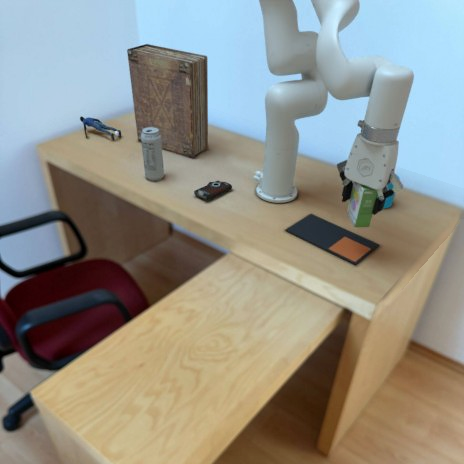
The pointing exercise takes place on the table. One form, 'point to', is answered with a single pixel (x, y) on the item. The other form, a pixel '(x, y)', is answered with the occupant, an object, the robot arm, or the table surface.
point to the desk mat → (333, 238)
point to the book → (171, 96)
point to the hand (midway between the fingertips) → (361, 205)
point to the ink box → (361, 205)
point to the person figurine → (99, 126)
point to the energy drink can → (152, 153)
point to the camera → (213, 190)
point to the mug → (390, 199)
